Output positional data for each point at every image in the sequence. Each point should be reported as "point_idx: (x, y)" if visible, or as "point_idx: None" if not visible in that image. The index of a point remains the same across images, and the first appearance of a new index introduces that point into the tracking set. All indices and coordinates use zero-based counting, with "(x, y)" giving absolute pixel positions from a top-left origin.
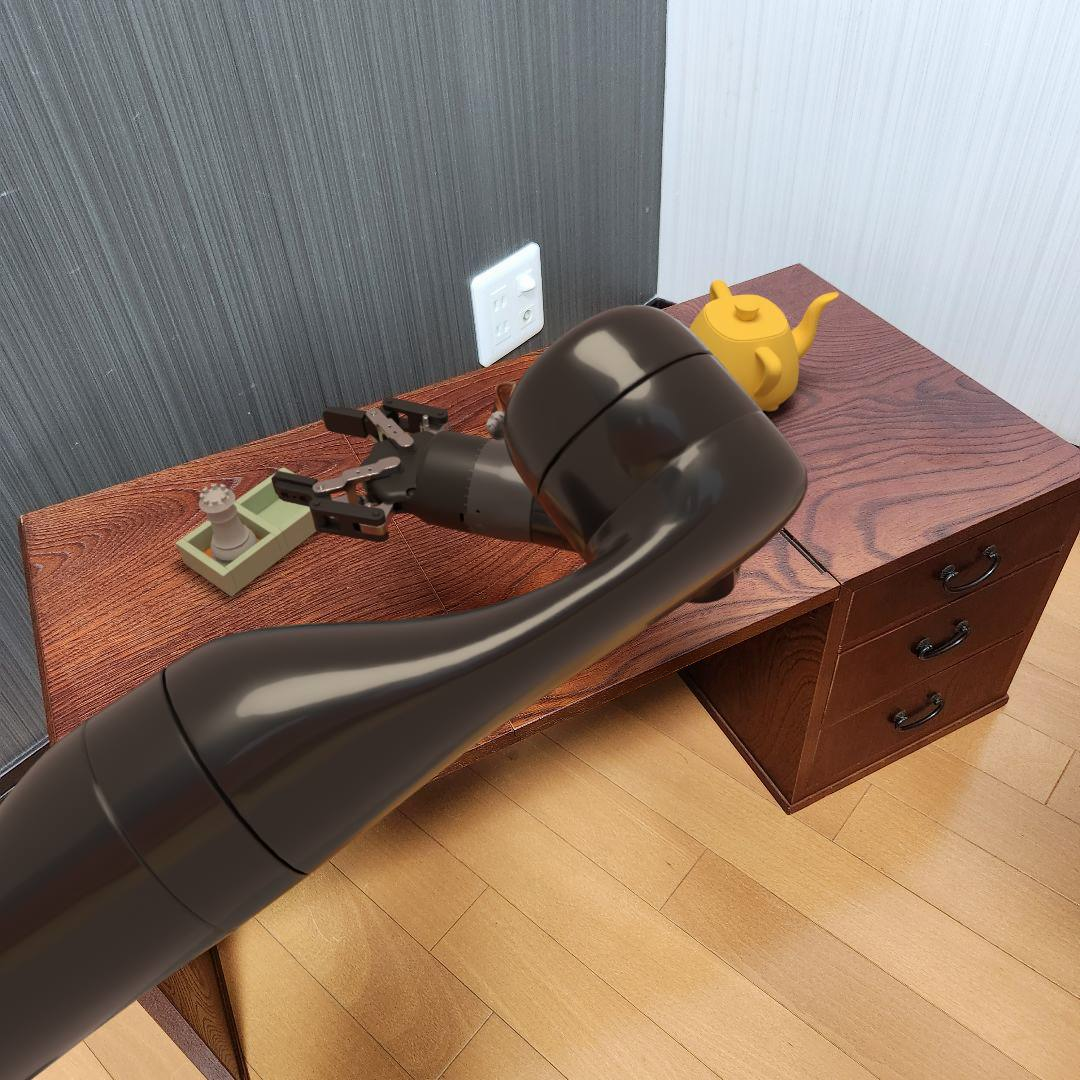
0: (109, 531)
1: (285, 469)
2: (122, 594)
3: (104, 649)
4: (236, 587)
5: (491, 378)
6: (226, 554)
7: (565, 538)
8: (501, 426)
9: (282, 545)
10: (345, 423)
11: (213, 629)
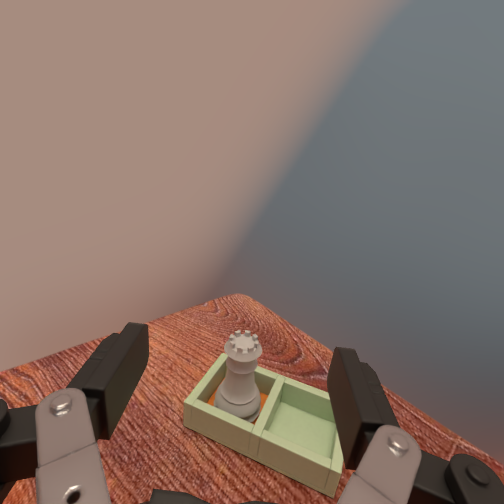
0: (243, 323)
1: None
2: (183, 347)
3: None
4: (190, 424)
5: None
6: (218, 395)
7: None
8: None
9: (252, 447)
10: (342, 399)
11: (138, 425)
